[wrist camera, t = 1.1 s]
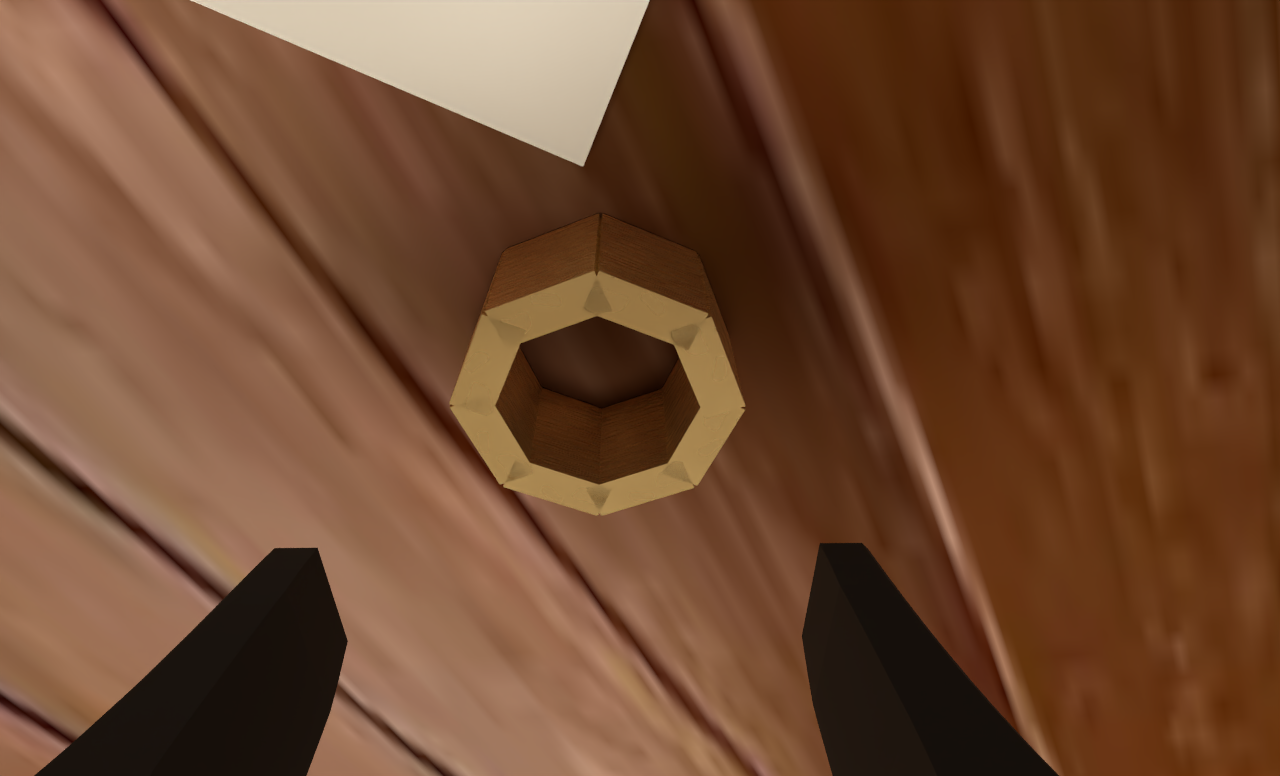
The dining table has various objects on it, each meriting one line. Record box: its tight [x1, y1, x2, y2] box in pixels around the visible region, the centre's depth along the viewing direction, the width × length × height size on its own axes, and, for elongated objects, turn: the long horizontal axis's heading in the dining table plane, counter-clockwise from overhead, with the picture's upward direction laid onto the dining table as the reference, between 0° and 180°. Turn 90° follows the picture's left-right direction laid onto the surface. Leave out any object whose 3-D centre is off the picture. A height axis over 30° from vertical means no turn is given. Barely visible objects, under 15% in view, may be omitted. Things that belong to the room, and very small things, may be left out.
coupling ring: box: [449, 213, 745, 516], centre depth 17 cm, size 6×6×3 cm
